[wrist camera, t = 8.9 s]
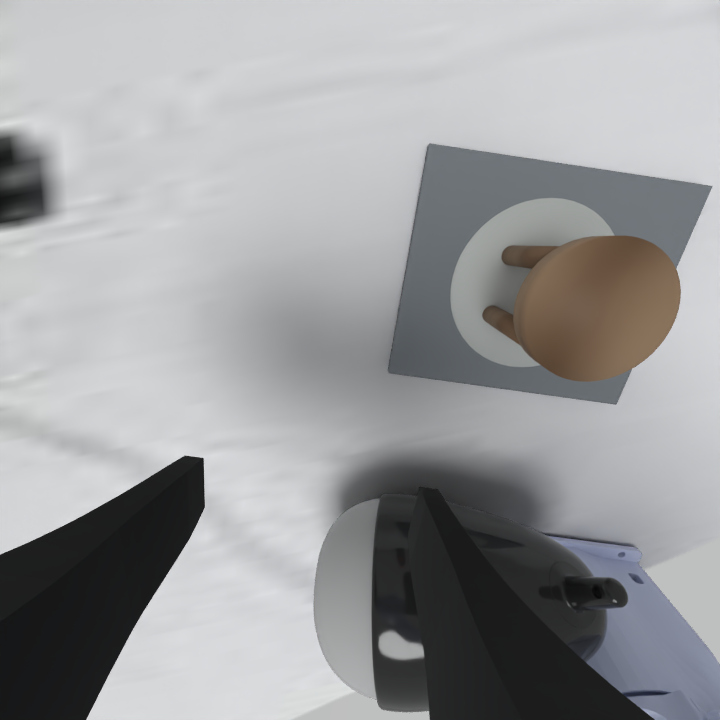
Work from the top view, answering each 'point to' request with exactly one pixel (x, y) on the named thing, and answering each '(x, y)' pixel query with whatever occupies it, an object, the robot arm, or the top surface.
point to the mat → (502, 282)
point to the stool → (590, 305)
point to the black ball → (397, 601)
